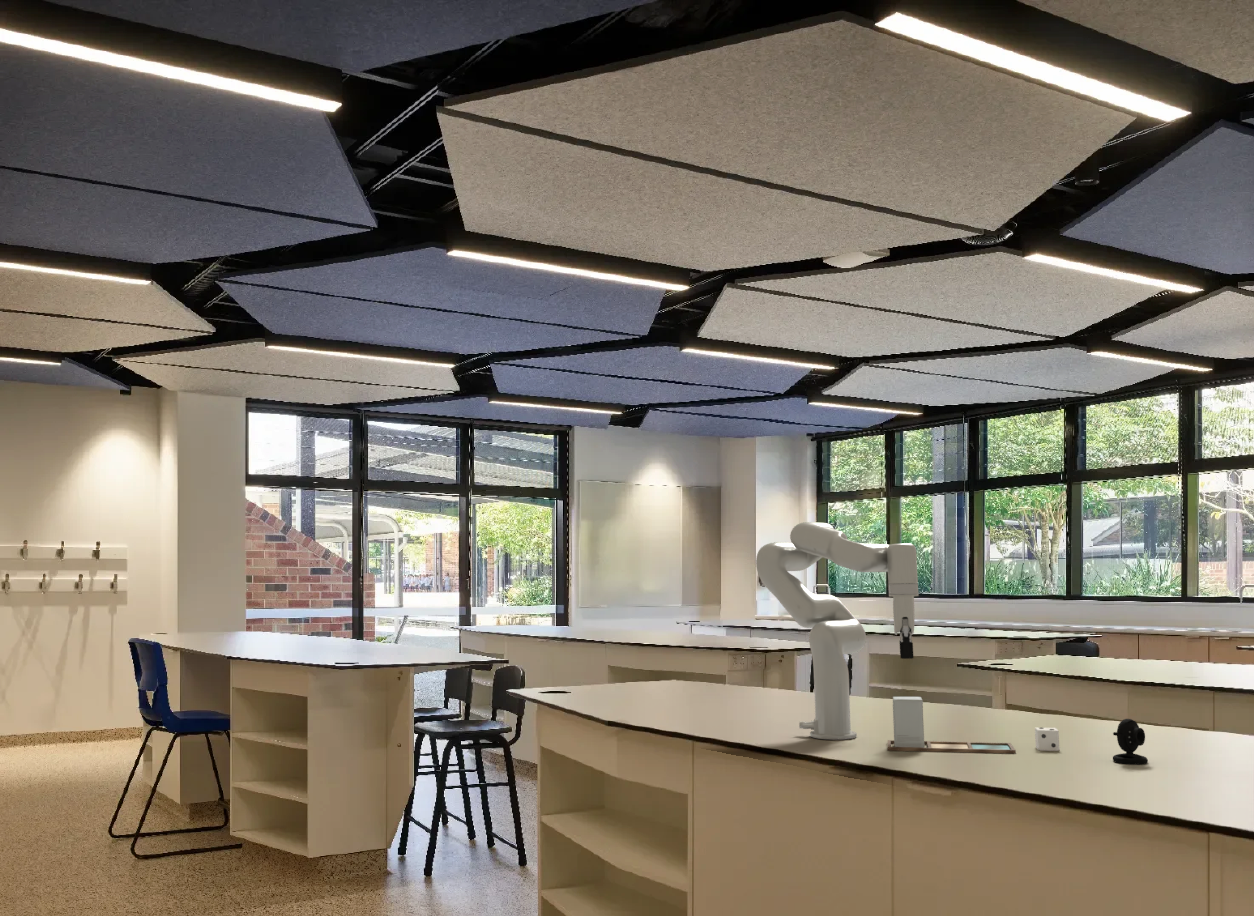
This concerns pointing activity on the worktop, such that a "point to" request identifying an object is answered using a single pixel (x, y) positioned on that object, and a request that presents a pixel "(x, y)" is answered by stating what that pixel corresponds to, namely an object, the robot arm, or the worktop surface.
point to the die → (1047, 739)
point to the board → (958, 747)
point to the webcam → (1129, 742)
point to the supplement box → (908, 722)
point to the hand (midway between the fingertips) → (906, 657)
